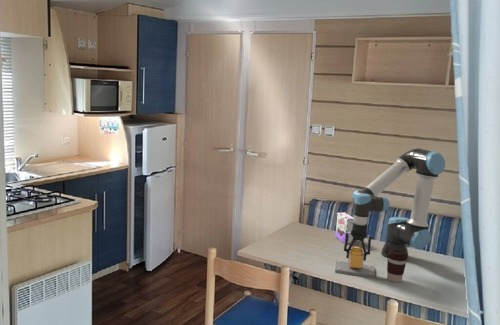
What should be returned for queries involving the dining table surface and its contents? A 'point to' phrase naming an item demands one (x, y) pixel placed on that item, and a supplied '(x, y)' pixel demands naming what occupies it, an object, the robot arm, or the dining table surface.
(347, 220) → the candy box
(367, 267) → the plate
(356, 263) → the wire nut
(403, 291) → the dining table surface
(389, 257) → the coffee cup
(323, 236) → the dining table surface
